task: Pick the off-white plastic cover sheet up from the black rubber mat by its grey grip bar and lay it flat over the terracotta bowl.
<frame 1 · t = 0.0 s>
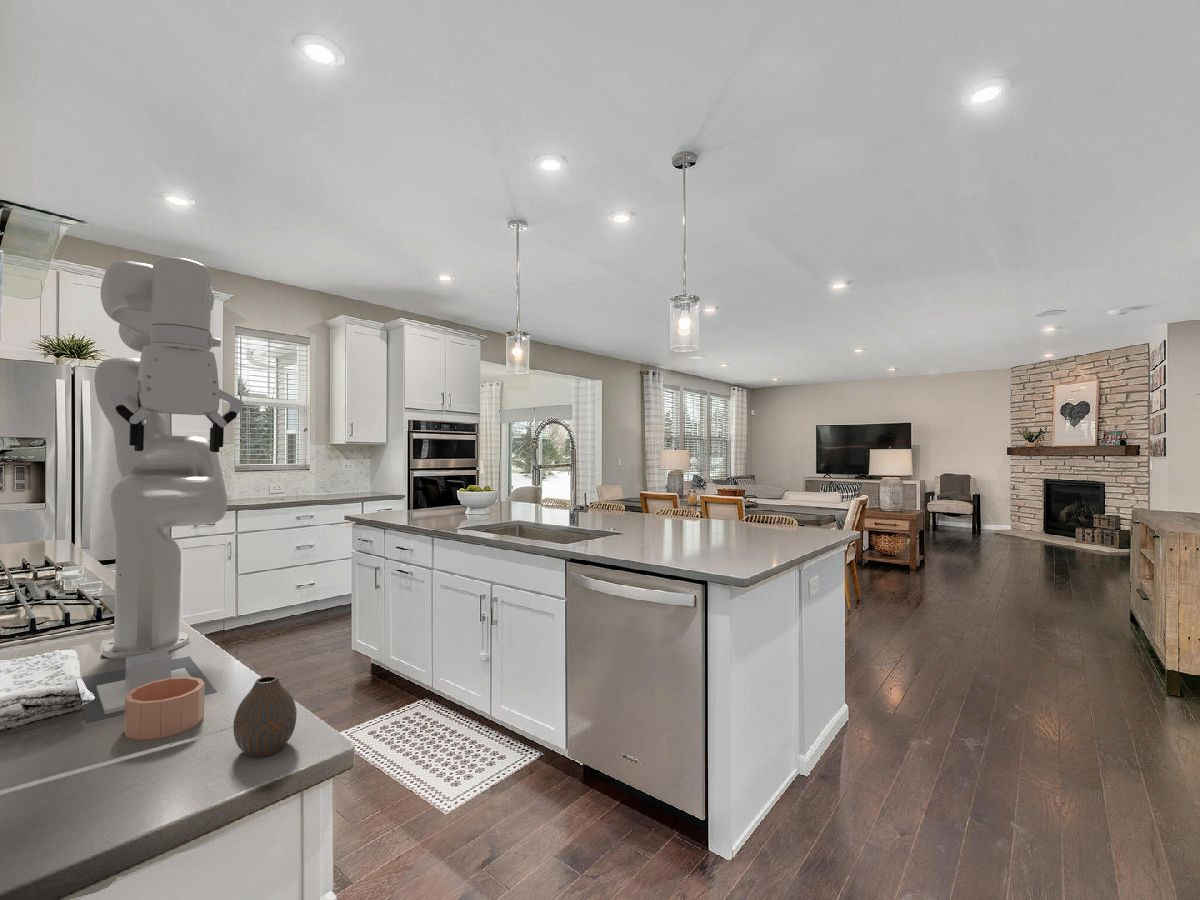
hand: (178, 451, 91), 37 cm above the counter, tool pointing down, fingers open, 9 cm apart
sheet: (148, 690, 89), resting on mat
bowl: (164, 726, 79), on the counter
vase: (264, 750, 74), on the counter
mat: (144, 687, 91), on the counter
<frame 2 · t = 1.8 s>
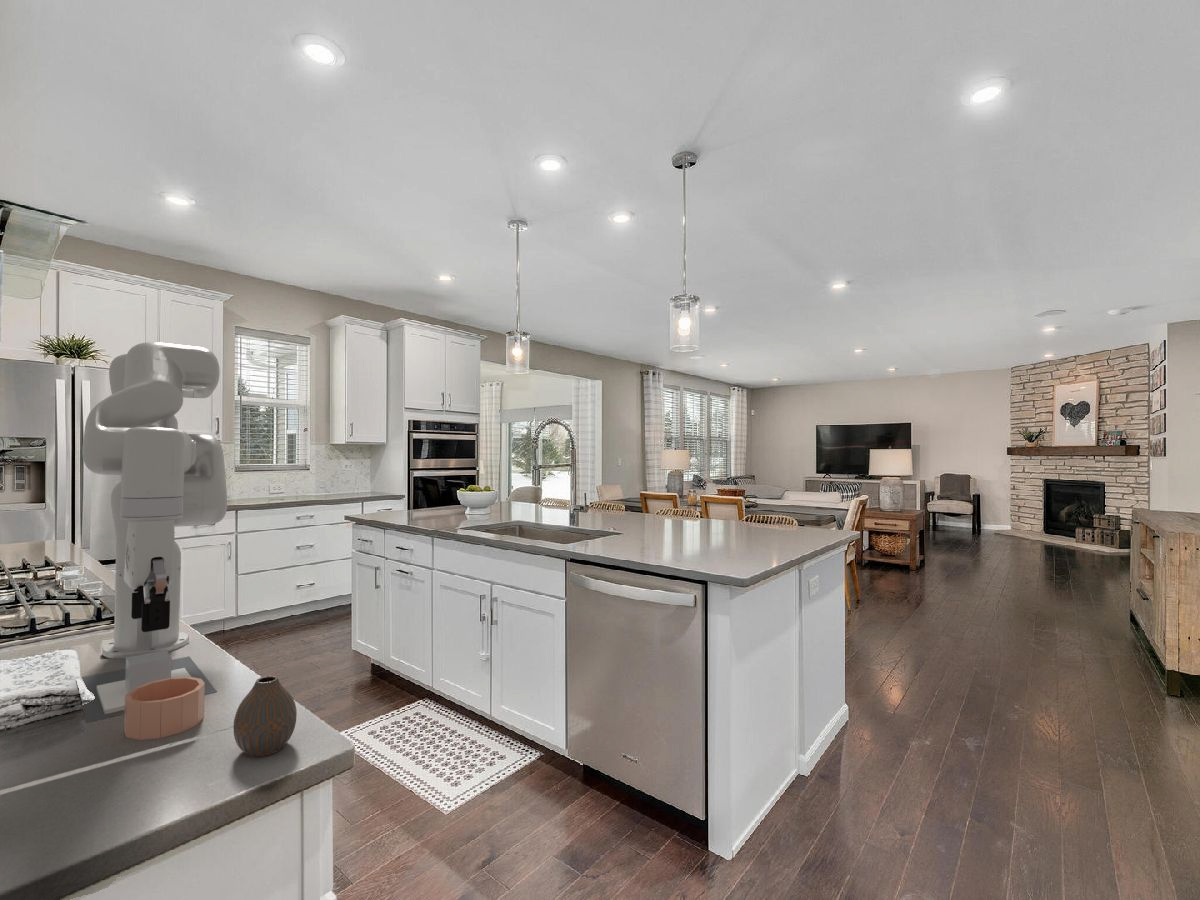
hand: (149, 623, 88), 11 cm above the counter, tool pointing down, fingers open, 9 cm apart
nothing on the counter moved.
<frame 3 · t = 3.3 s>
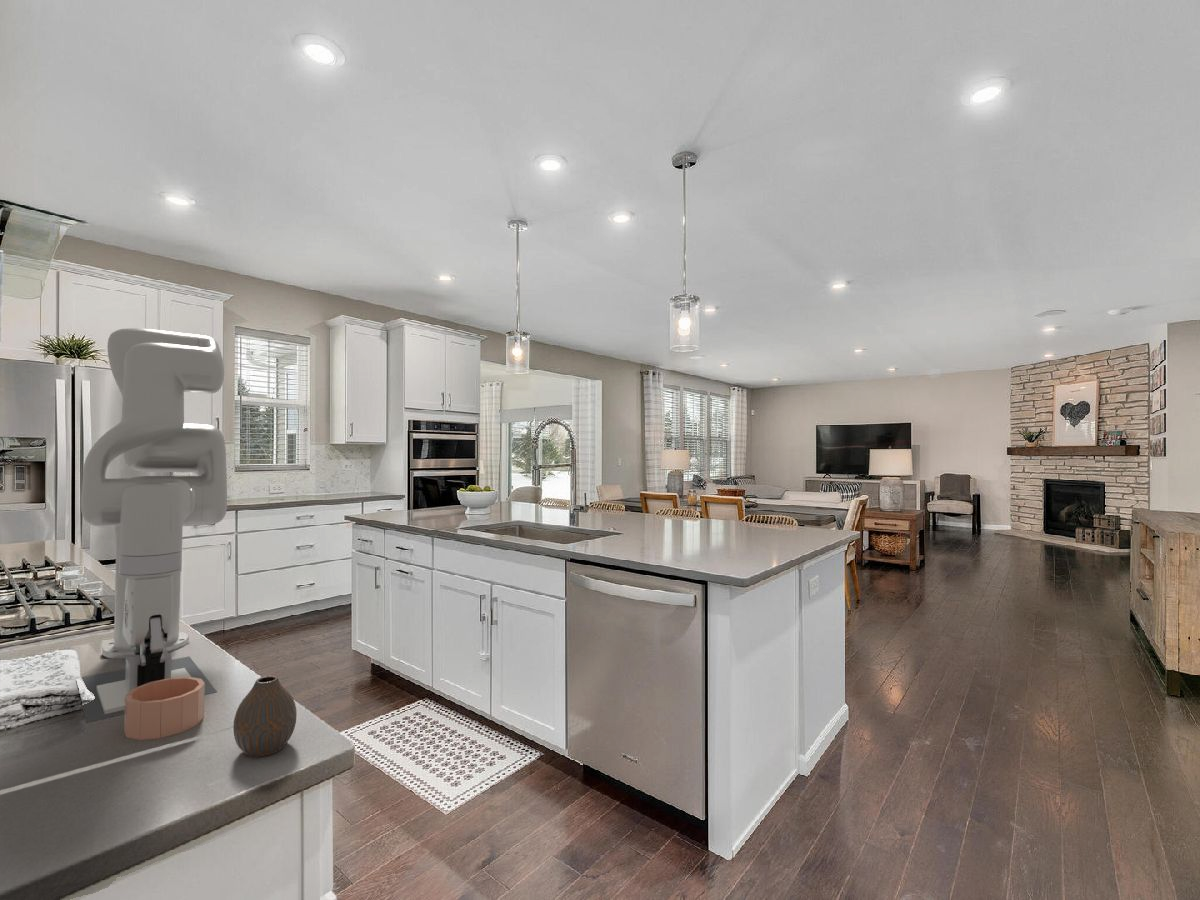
hand: (148, 683, 89), 2 cm above the counter, tool pointing down, fingers closed on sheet, 4 cm apart
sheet: (148, 691, 89), resting on mat, touching gripper
everything else where it was.
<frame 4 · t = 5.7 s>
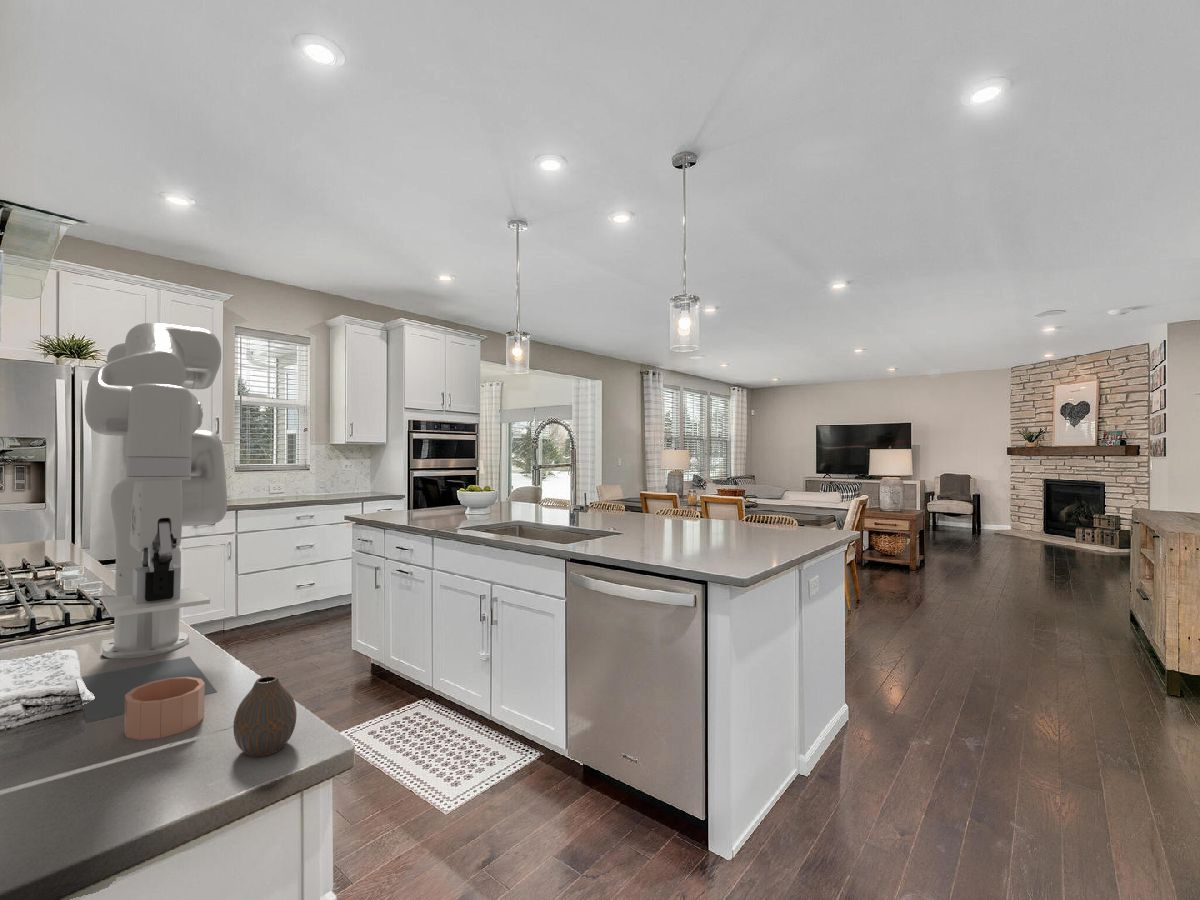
hand: (156, 595, 84), 16 cm above the counter, tool pointing down, fingers closed on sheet, 4 cm apart
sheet: (156, 603, 84), point 15 cm above the counter, touching gripper
everything else where it was.
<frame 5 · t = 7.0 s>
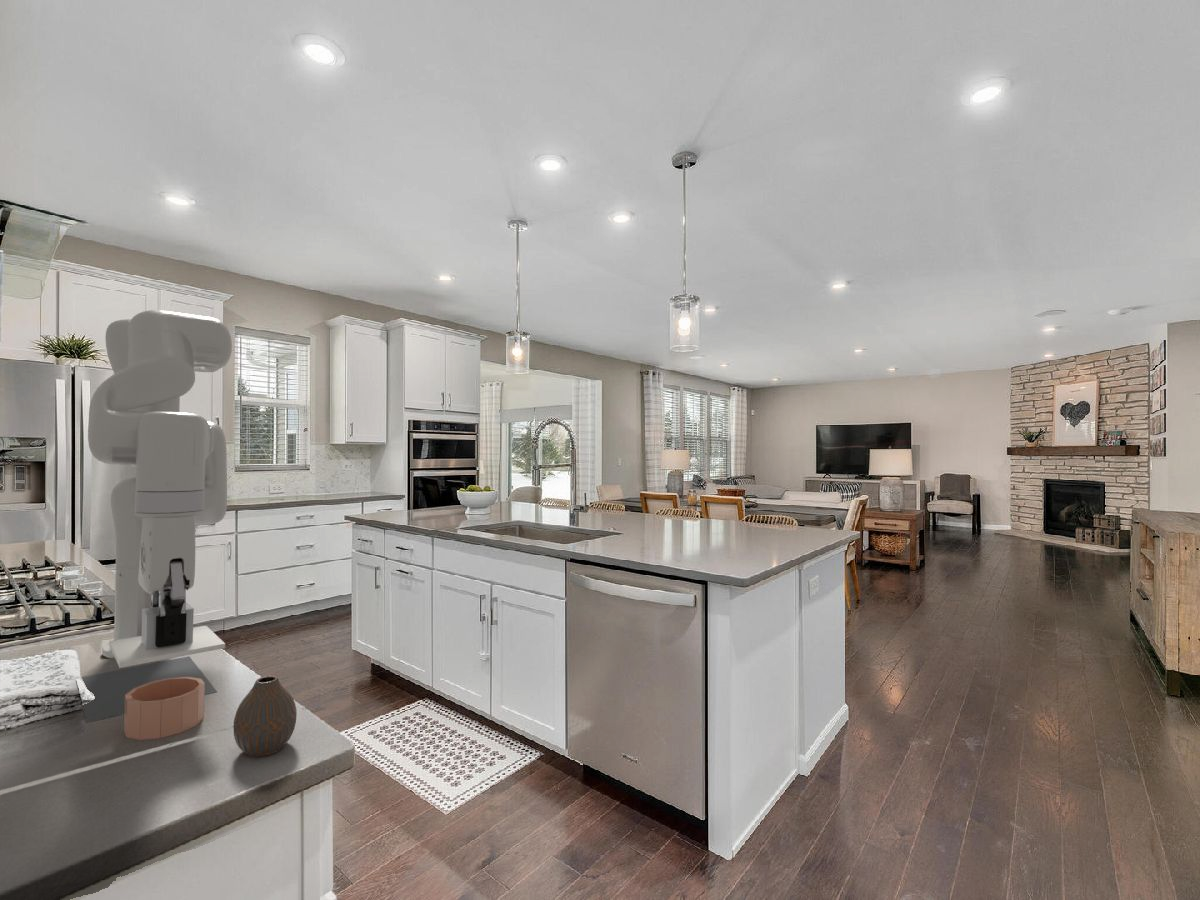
hand: (167, 639, 78), 12 cm above the counter, tool pointing down, fingers closed on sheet, 4 cm apart
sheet: (167, 646, 78), point 11 cm above the counter, touching gripper
everything else where it was.
when the fingers open (7 cm above the counter, at t = 8.0 s): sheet drops 1 cm, resting on bowl.
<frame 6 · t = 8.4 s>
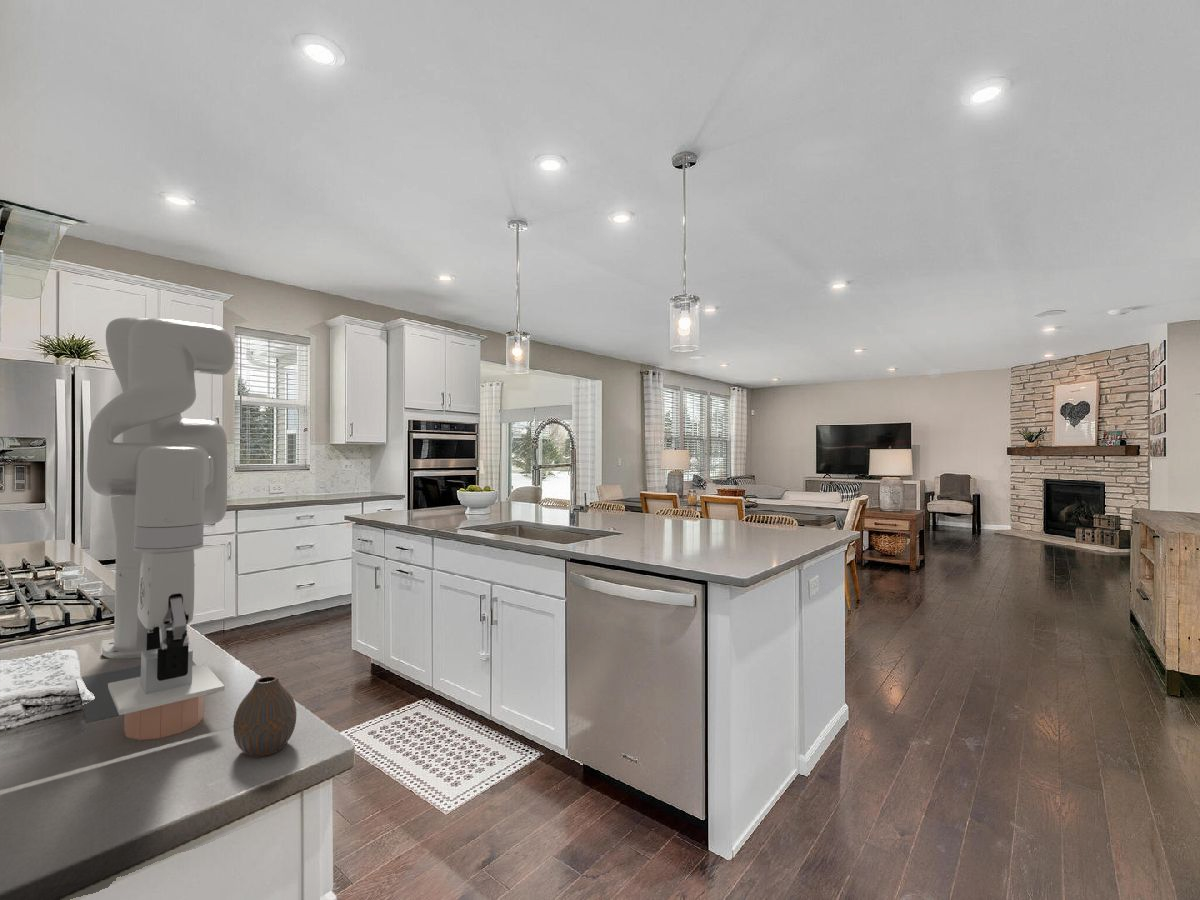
hand: (166, 667, 79), 8 cm above the counter, tool pointing down, fingers open, 7 cm apart
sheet: (166, 689, 79), point 5 cm above the counter, touching bowl
everything else where it was.
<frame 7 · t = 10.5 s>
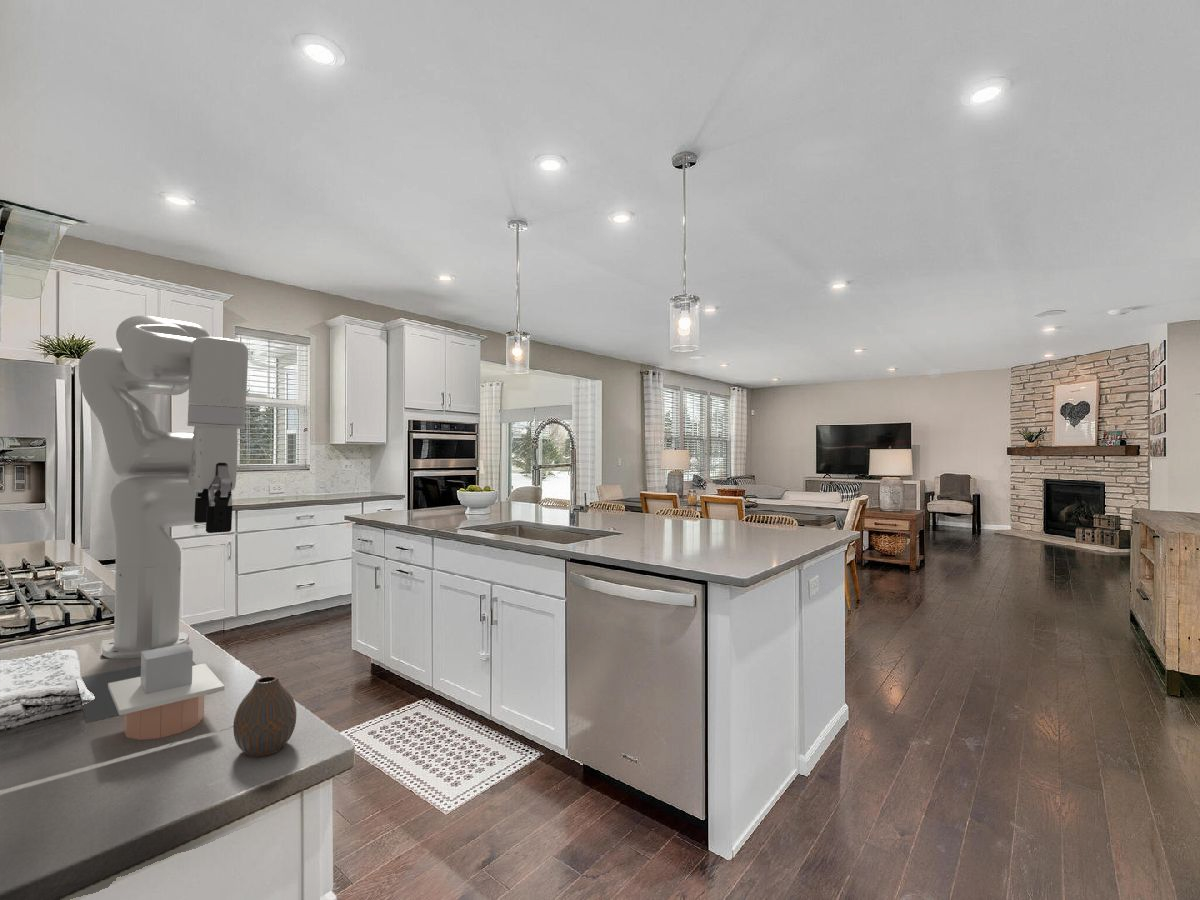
hand: (212, 526, 92), 25 cm above the counter, tool pointing down, fingers open, 9 cm apart
nothing on the counter moved.
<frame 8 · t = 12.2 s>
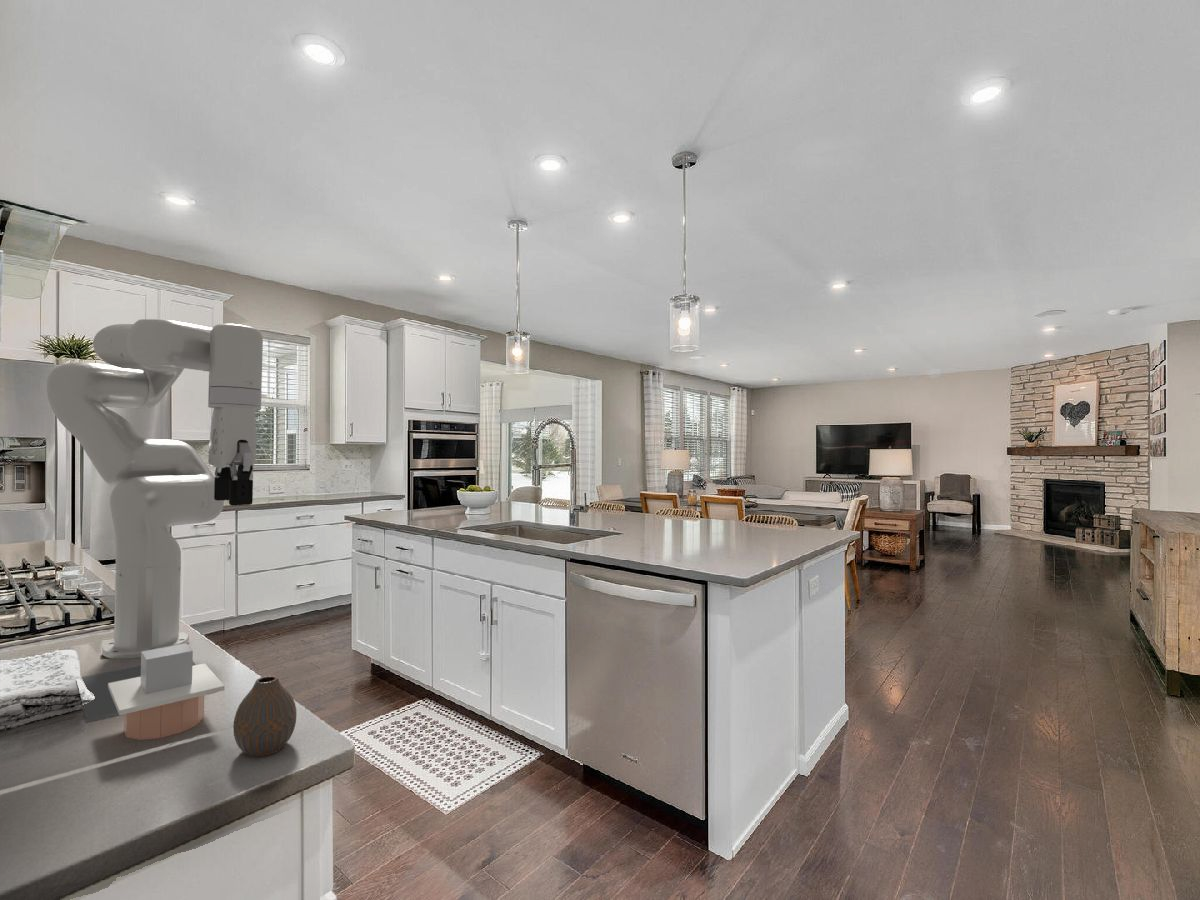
hand: (232, 502, 98), 28 cm above the counter, tool pointing down, fingers open, 9 cm apart
nothing on the counter moved.
at the end: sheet 0.1 cm off-centre on the bowl, point 5.0 cm above the bowl's base; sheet tilted 0°; the gripper is holding nothing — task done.
